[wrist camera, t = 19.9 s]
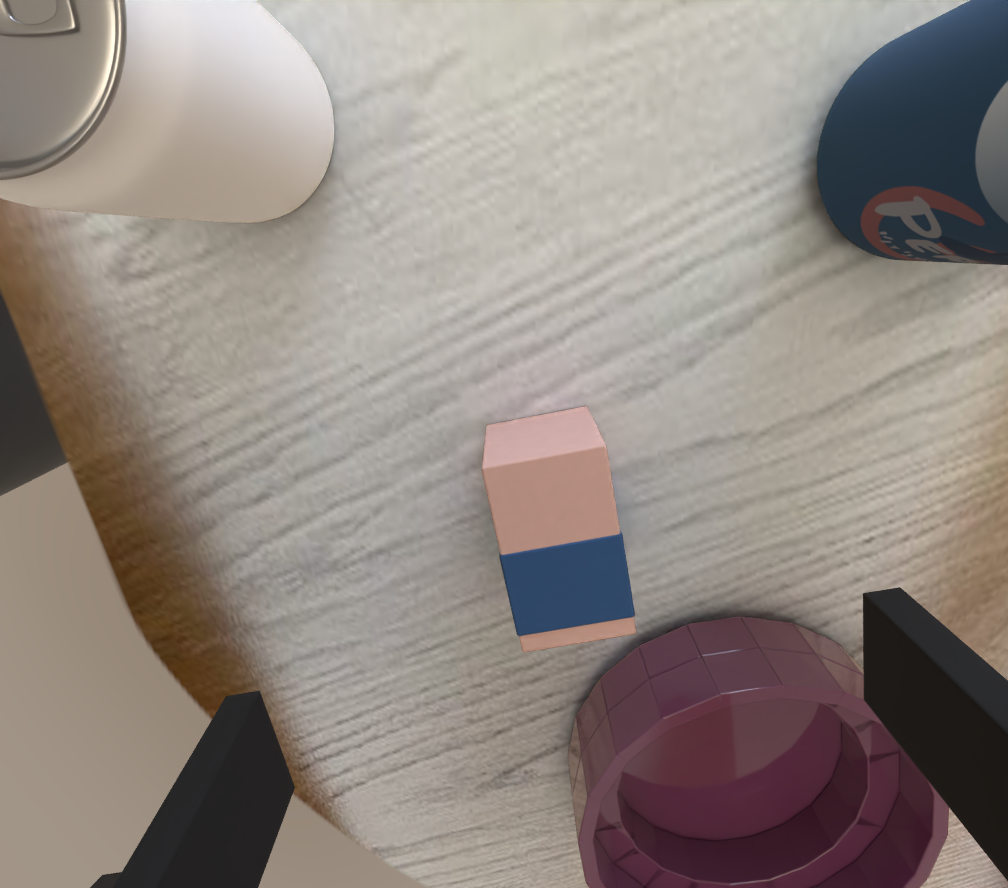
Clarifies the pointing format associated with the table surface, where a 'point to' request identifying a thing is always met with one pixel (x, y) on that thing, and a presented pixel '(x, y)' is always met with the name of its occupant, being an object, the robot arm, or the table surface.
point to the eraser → (557, 529)
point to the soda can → (925, 143)
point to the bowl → (746, 768)
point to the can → (159, 110)
